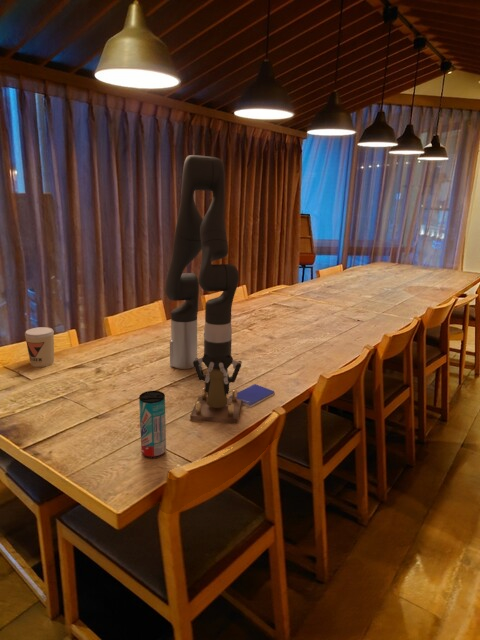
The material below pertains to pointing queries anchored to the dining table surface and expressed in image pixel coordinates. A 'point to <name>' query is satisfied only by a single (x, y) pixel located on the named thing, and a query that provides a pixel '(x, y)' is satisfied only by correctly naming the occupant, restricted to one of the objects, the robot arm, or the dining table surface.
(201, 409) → the walnut stand
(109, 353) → the dining table surface
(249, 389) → the hard drive
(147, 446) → the beverage can
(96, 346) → the dining table surface
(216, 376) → the cork
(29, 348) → the coffee cup
